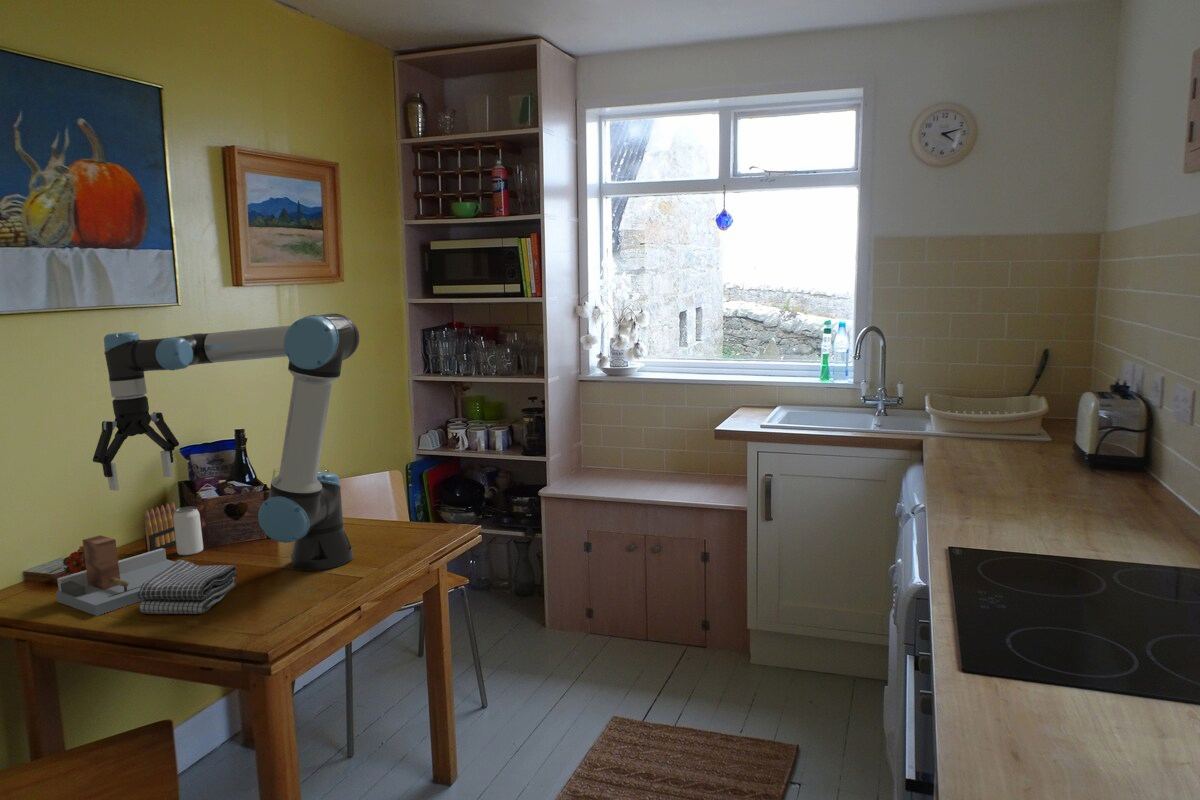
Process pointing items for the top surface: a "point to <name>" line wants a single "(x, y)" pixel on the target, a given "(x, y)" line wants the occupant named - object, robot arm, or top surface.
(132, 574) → the board
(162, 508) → the ammunition clip
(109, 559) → the brown blocky piece
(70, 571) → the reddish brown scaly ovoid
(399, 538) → the top surface
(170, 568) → the towel
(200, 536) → the can
